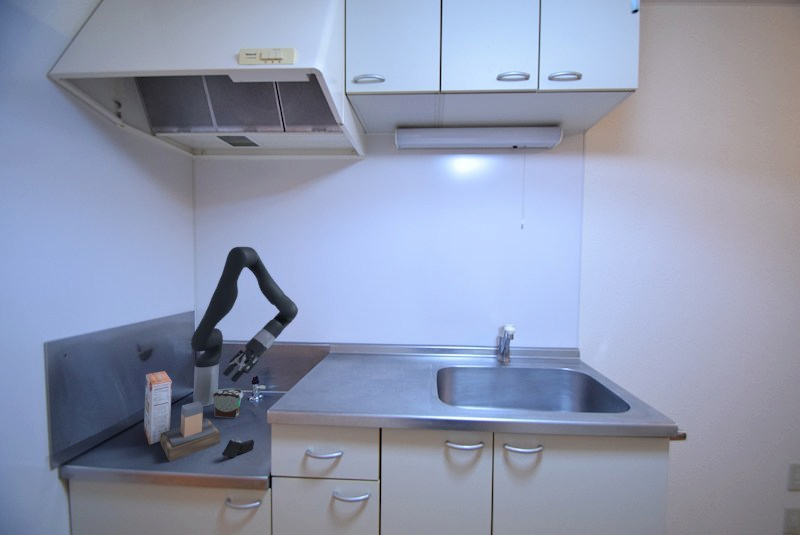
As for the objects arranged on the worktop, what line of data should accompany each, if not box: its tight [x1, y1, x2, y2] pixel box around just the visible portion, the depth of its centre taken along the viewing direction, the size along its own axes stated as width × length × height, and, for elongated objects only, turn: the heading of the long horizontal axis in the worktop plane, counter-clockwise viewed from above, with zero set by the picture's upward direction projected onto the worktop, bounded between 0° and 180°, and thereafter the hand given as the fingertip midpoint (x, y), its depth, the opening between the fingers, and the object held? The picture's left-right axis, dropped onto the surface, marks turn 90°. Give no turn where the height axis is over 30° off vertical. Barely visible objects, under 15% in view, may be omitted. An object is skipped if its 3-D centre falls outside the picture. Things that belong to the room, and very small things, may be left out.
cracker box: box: [143, 370, 173, 446], centre depth 105 cm, size 14×6×21 cm, turn 47°
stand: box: [159, 418, 221, 462], centre depth 100 cm, size 14×14×4 cm
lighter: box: [221, 435, 255, 458], centre depth 96 cm, size 9×2×6 cm
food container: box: [212, 387, 244, 419], centre depth 122 cm, size 12×6×10 cm, turn 84°
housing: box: [180, 401, 204, 437], centre depth 101 cm, size 5×5×9 cm
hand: (228, 378), depth 109 cm, fingers open, 8 cm apart
